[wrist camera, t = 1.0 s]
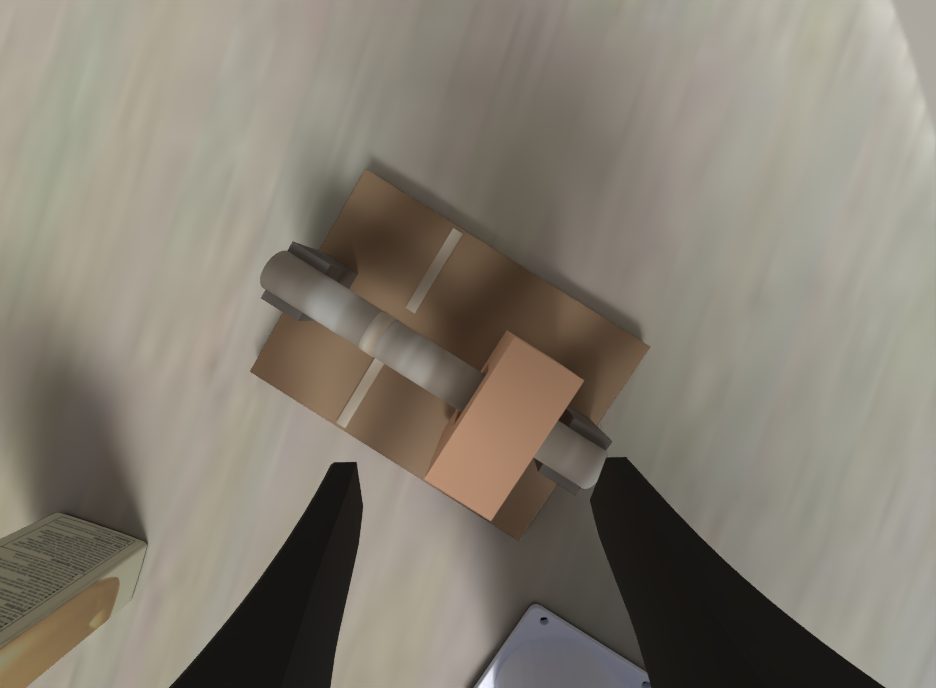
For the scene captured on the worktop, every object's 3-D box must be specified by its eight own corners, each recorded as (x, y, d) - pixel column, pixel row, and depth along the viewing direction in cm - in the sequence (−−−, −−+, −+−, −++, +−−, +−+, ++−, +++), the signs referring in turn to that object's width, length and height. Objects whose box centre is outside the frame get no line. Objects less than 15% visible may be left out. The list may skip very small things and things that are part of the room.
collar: (554, 360, 21) (584, 380, 14) (490, 459, 21) (490, 521, 15) (506, 330, 21) (514, 336, 14) (443, 429, 21) (423, 479, 15)
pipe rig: (642, 345, 22) (698, 356, 16) (517, 530, 23) (527, 603, 17) (371, 175, 22) (328, 125, 16) (260, 369, 23) (184, 387, 17)
